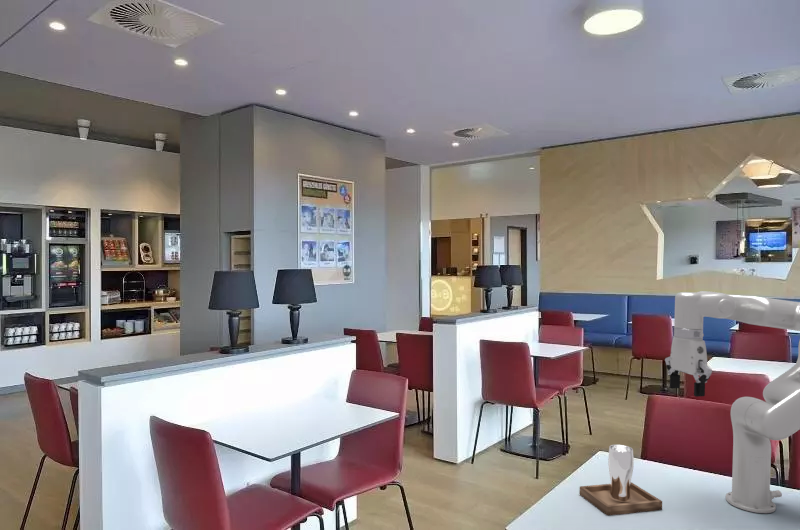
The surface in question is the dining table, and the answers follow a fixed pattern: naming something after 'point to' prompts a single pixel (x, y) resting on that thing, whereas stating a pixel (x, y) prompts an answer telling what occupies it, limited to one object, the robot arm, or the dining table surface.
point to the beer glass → (620, 472)
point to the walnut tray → (602, 501)
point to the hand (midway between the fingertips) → (686, 392)
